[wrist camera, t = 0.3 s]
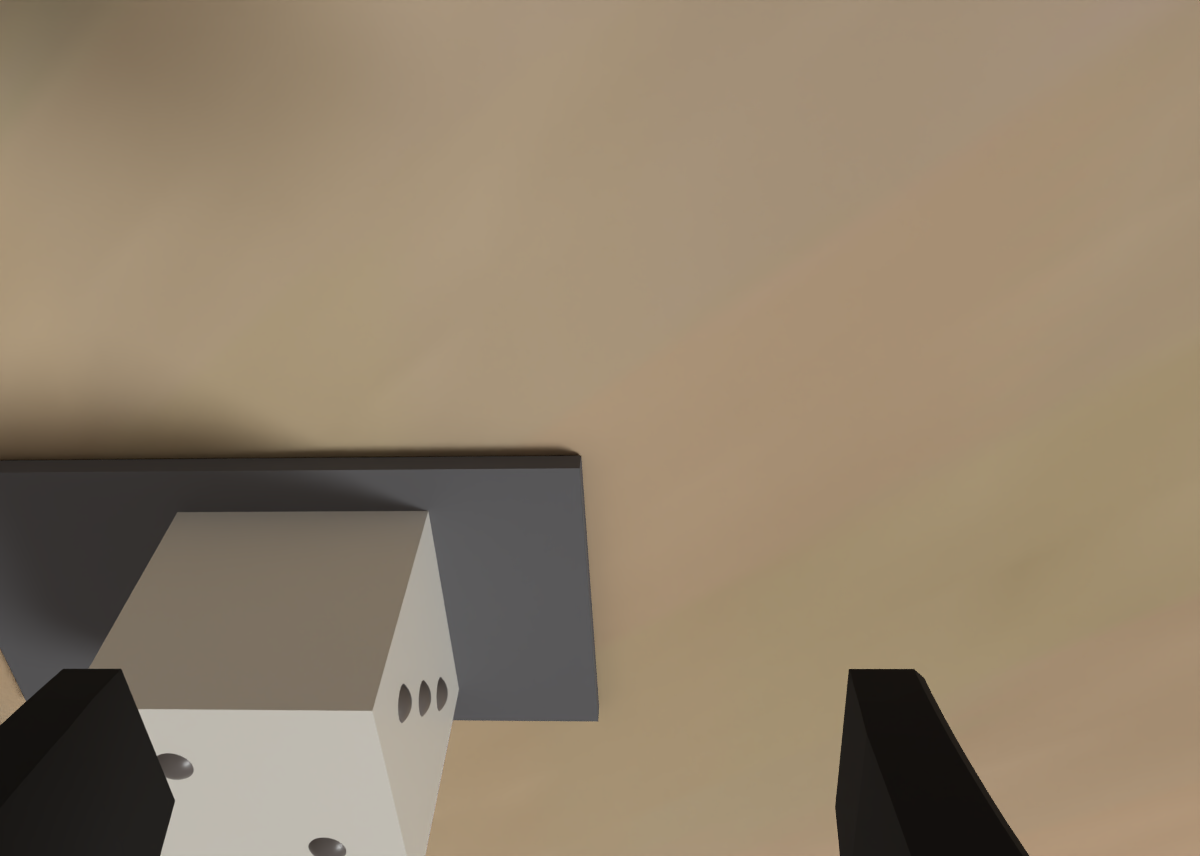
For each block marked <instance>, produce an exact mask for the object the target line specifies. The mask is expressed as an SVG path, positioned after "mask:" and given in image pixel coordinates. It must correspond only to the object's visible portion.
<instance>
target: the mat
mask: <svg viewBox="0 0 1200 856" xmlns="http://www.w3.org/2000/svg"><path fill="white" fill-rule="evenodd" d="M310 511H428V512H429V518H430V524H431V529H432V535H433V541H434V547H435V553H436V558H437V564H438V570H439V576H440V582H441V588H442V593H443V599H444V605H445V611H446V617H447V623H448V628H449V634H450V640H451V646H452V652H453V658H454V663H455V669H456V675H457V681H458V687H459V692H458V697H457V701H456V706H455V711H454V716H453V720H495V721H598V714H599V701H598V687H597V673H596V659H595V645H594V631H593V617H592V602H591V588H590V574H589V560H588V546H587V532H586V518H585V504H584V490H583V475H582V461H581V456H485V457H366V458H247V459H128V460H8V461H0V649H1V651H2V653H3V655H4V657H5V659H6V661H7V663H8V665H9V667H10V669H11V671H12V673H13V675H14V677H15V679H16V681H17V683H18V685H19V687H20V689H21V692H22V694H23V696H24V698H25V700H26V701H27V700H28V699H30V698H31V697H32V696H33V695H34V694H35V693H36V692H37V691H38V690H40V689H41V688H42V687H43V686H44V685H45V684H46V683H47V682H49V681H50V680H51V679H52V678H53V677H54V676H55V675H57V674H58V673H59V672H60V671H61V670H62V669H89V667H90V665H91V664H92V662H93V660H94V658H95V656H96V655H97V653H98V651H99V649H100V648H101V646H102V644H103V642H104V641H105V639H106V637H107V635H108V634H109V632H110V630H111V628H112V627H113V625H114V623H115V621H116V619H117V618H118V616H119V614H120V612H121V611H122V609H123V607H124V605H125V604H126V602H127V600H128V598H129V597H130V595H131V593H132V591H133V590H134V588H135V586H136V584H137V583H138V581H139V579H140V577H141V575H142V574H143V572H144V570H145V568H146V567H147V565H148V563H149V561H150V560H151V558H152V556H153V554H154V553H155V551H156V549H157V547H158V546H159V544H160V542H161V540H162V538H163V537H164V535H165V533H166V531H167V530H168V528H169V526H170V524H171V523H172V521H173V519H174V517H175V516H176V514H177V512H310Z"/></svg>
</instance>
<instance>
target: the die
mask: <svg viewBox="0 0 1200 856" xmlns="http://www.w3.org/2000/svg"><path fill="white" fill-rule="evenodd" d="M89 669H122V672H123V674H124V676H125V679H126V681H127V684H128V686H129V689H130V691H131V694H132V696H133V699H134V701H135V703H136V706H137V708H138V711H139V713H140V716H141V718H142V721H143V723H144V725H145V728H146V730H147V733H148V735H149V738H150V740H151V743H152V745H153V748H154V750H155V752H156V755H157V757H158V760H159V762H160V765H161V767H162V770H163V772H164V775H165V777H166V779H167V782H168V784H169V787H170V789H171V792H172V794H173V797H174V799H175V803H174V807H173V811H172V814H171V818H170V822H169V825H168V829H167V833H166V836H165V840H164V844H163V847H162V851H161V855H160V856H425V854H426V850H427V845H428V840H429V835H430V830H431V825H432V820H433V815H434V810H435V805H436V800H437V795H438V790H439V785H440V780H441V775H442V771H443V766H444V761H445V756H446V751H447V746H448V741H449V736H450V731H451V726H452V721H453V716H454V711H455V706H456V701H457V697H458V692H459V687H458V681H457V675H456V669H455V663H454V658H453V652H452V646H451V640H450V634H449V628H448V623H447V617H446V611H445V605H444V599H443V593H442V588H441V582H440V576H439V570H438V564H437V558H436V553H435V547H434V541H433V535H432V529H431V524H430V518H429V512H428V511H310V512H177V514H176V516H175V517H174V519H173V521H172V523H171V524H170V526H169V528H168V530H167V531H166V533H165V535H164V537H163V538H162V540H161V542H160V544H159V546H158V547H157V549H156V551H155V553H154V554H153V556H152V558H151V560H150V561H149V563H148V565H147V567H146V568H145V570H144V572H143V574H142V575H141V577H140V579H139V581H138V583H137V584H136V586H135V588H134V590H133V591H132V593H131V595H130V597H129V598H128V600H127V602H126V604H125V605H124V607H123V609H122V611H121V612H120V614H119V616H118V618H117V619H116V621H115V623H114V625H113V627H112V628H111V630H110V632H109V634H108V635H107V637H106V639H105V641H104V642H103V644H102V646H101V648H100V649H99V651H98V653H97V655H96V656H95V658H94V660H93V662H92V664H91V665H90V667H89Z"/></svg>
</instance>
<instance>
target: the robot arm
mask: <svg viewBox="0 0 1200 856" xmlns="http://www.w3.org/2000/svg"><path fill="white" fill-rule="evenodd" d="M174 803H175V799H174V797H173V794H172V792H171V789H170V787H169V784H168V782H167V779H166V777H165V775H164V772H163V770H162V767H161V765H160V762H159V760H158V757H157V755H156V752H155V750H154V748H153V745H152V743H151V740H150V738H149V735H148V733H147V730H146V728H145V725H144V723H143V721H142V718H141V716H140V713H139V711H138V708H137V706H136V703H135V701H134V699H133V696H132V694H131V691H130V689H129V686H128V684H127V681H126V679H125V676H124V674H123V672H122V669H62V670H61V671H60V672H59V673H58V674H57V675H55V676H54V677H53V678H52V679H51V680H50V681H49V682H47V683H46V684H45V685H44V686H43V687H42V688H41V689H40V690H38V691H37V692H36V693H35V694H34V695H33V696H32V697H31V698H30V699H28V700H27V701H26V702H25V703H24V704H23V705H22V706H21V707H20V708H19V709H18V710H17V711H15V712H14V713H13V714H12V715H11V716H10V717H9V718H8V719H7V720H6V721H5V722H4V723H3V724H1V725H0V856H160V855H161V851H162V847H163V844H164V840H165V836H166V833H167V829H168V825H169V822H170V818H171V814H172V811H173V807H174ZM835 809H836V819H837V829H838V840H839V850H840V856H1029V855H1028V853H1027V852H1026V850H1025V849H1024V847H1023V846H1022V844H1021V843H1020V841H1019V840H1018V838H1017V837H1016V835H1015V834H1014V832H1013V831H1012V829H1011V828H1010V826H1009V825H1008V823H1007V822H1006V820H1005V819H1004V817H1003V815H1002V814H1001V812H1000V811H999V809H998V808H997V806H996V804H995V803H994V801H993V800H992V798H991V796H990V795H989V793H988V792H987V790H986V788H985V787H984V785H983V783H982V782H981V780H980V778H979V777H978V775H977V773H976V772H975V770H974V768H973V767H972V765H971V763H970V762H969V760H968V758H967V757H966V755H965V753H964V752H963V750H962V748H961V746H960V745H959V743H958V741H957V739H956V738H955V736H954V734H953V732H952V730H951V729H950V727H949V725H948V723H947V721H946V720H945V718H944V716H943V714H942V712H941V710H940V708H939V706H938V705H937V703H936V701H935V699H934V697H933V695H932V693H931V691H930V689H929V687H928V685H927V683H926V681H925V679H924V678H923V677H922V676H921V675H920V674H919V673H918V672H917V671H915V670H914V669H849V675H848V685H847V695H846V705H845V715H844V725H843V735H842V745H841V755H840V765H839V775H838V785H837V795H836V805H835Z"/></svg>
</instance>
